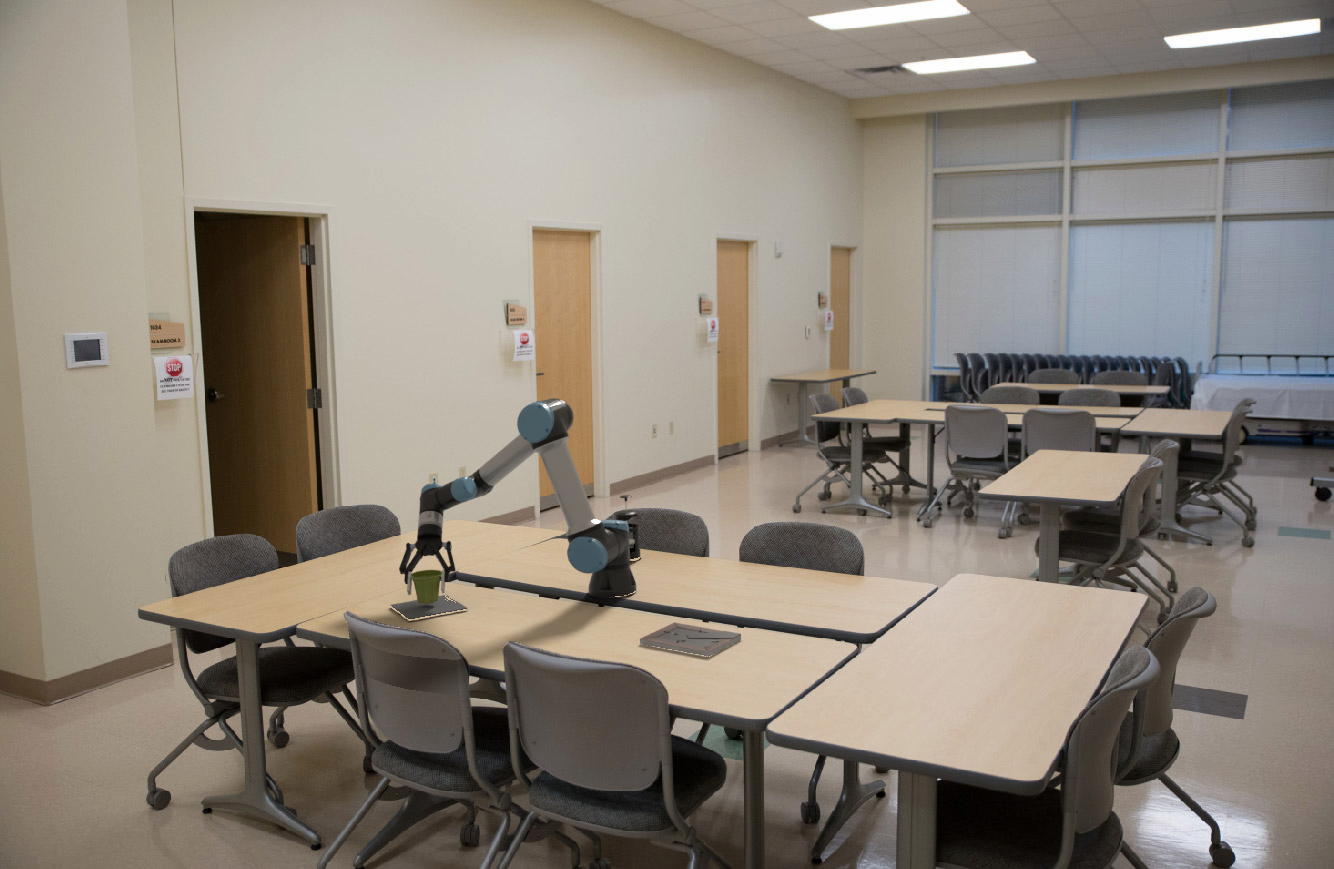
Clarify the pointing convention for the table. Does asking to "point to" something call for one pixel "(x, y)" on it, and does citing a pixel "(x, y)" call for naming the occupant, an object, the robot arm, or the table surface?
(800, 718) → the table surface
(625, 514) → the french press
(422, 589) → the plant pot
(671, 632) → the picture frame
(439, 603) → the charcoal mat
